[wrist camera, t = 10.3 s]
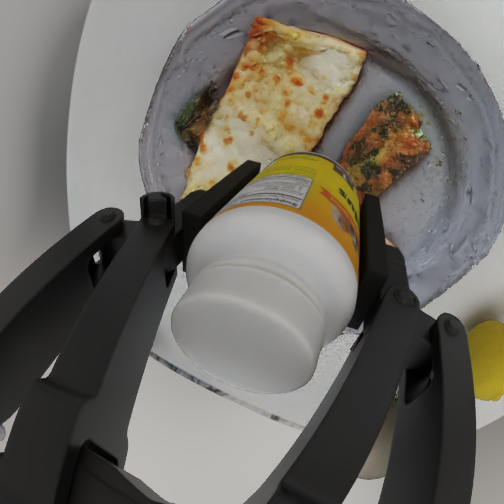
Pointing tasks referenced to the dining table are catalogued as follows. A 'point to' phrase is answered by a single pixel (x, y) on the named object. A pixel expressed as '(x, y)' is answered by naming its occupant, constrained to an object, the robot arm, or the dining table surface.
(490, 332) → the lemon
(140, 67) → the dining table surface
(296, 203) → the supplement bottle
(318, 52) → the food plate
